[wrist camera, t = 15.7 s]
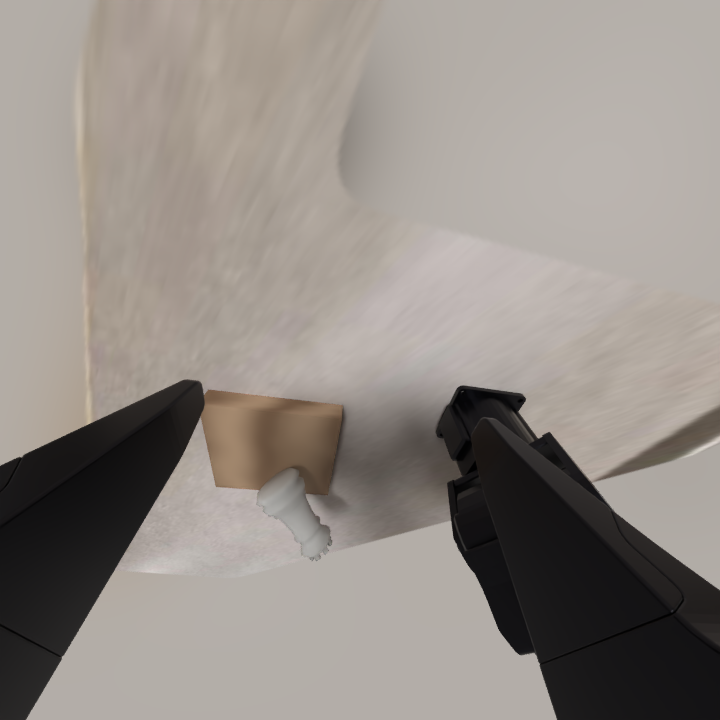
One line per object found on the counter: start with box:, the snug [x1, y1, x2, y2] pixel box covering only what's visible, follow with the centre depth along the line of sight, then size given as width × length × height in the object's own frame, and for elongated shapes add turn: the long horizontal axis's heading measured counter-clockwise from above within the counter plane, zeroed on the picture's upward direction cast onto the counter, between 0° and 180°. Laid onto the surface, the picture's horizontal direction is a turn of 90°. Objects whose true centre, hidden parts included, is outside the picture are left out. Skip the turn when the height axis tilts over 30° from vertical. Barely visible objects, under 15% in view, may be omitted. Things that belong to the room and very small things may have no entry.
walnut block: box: [201, 390, 343, 495], centre depth 27 cm, size 12×12×2 cm
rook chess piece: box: [257, 468, 332, 561], centre depth 25 cm, size 4×4×8 cm
